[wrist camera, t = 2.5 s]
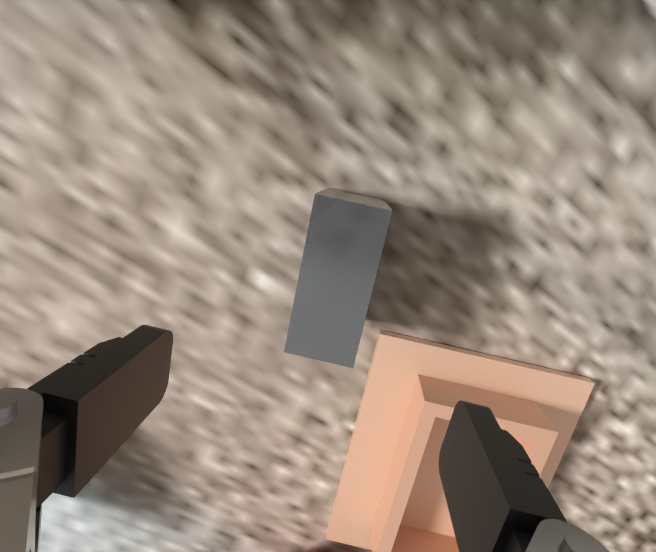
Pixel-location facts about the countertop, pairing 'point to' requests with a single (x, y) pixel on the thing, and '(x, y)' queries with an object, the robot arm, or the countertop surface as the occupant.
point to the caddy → (438, 436)
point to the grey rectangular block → (337, 275)
